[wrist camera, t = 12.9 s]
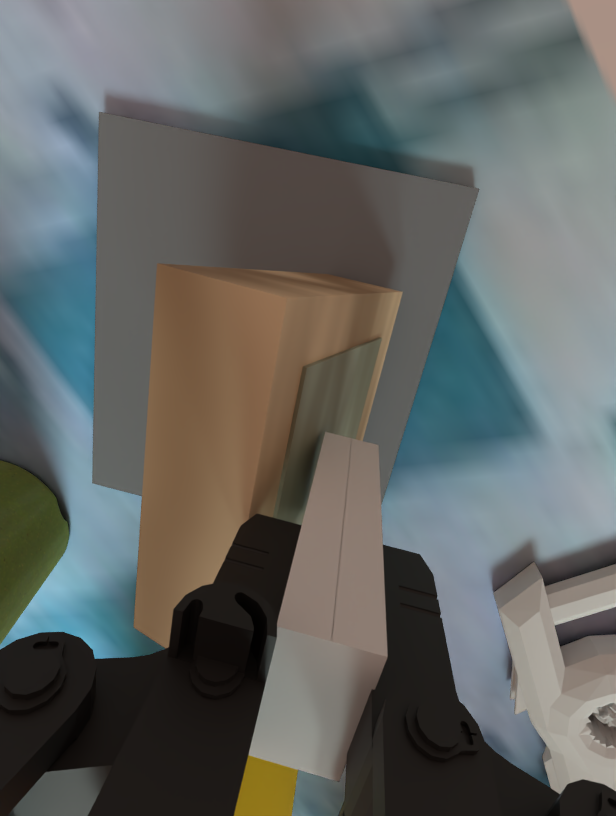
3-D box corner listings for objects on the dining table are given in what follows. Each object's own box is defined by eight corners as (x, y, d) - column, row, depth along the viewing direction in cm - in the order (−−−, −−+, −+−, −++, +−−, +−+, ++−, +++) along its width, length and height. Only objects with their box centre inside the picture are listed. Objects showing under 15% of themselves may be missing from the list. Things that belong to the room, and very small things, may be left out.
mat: (366, 546, 21) (366, 553, 20) (99, 477, 22) (92, 483, 21) (475, 191, 15) (479, 189, 15) (108, 116, 16) (99, 112, 16)
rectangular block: (405, 292, 15) (292, 299, 7) (343, 519, 19) (222, 686, 11) (327, 274, 16) (156, 263, 9) (283, 492, 20) (133, 627, 12)
